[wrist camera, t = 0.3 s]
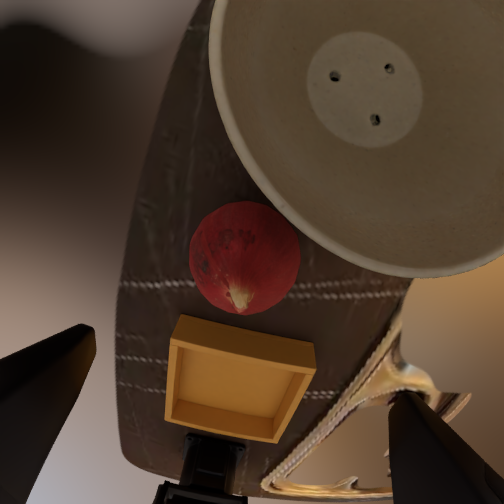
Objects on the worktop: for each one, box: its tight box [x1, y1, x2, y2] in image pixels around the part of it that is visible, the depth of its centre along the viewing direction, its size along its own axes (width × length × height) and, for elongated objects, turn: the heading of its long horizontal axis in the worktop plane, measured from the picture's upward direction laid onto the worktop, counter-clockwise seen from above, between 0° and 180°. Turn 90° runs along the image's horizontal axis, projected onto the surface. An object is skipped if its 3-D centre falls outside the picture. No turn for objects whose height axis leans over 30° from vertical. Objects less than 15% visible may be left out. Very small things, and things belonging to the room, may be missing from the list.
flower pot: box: [209, 0, 504, 278], centre depth 11 cm, size 14×14×10 cm
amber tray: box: [165, 314, 317, 443], centre depth 24 cm, size 10×10×3 cm
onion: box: [189, 201, 301, 315], centre depth 17 cm, size 6×6×8 cm
